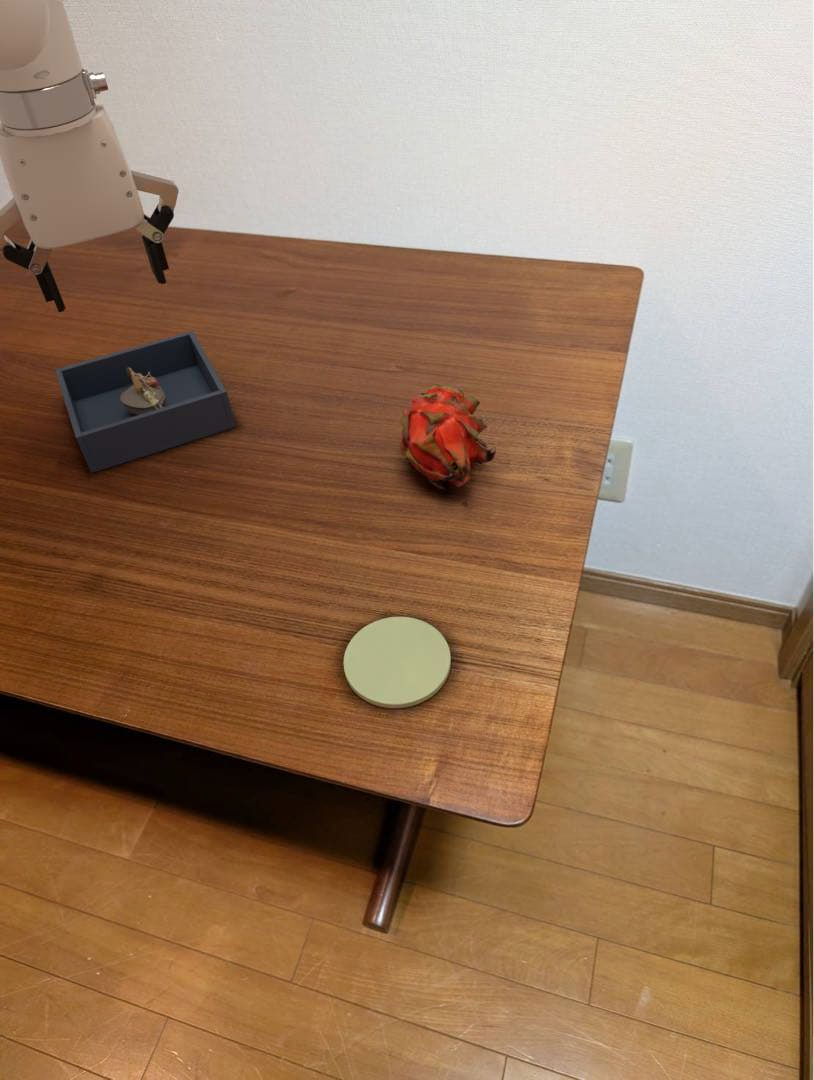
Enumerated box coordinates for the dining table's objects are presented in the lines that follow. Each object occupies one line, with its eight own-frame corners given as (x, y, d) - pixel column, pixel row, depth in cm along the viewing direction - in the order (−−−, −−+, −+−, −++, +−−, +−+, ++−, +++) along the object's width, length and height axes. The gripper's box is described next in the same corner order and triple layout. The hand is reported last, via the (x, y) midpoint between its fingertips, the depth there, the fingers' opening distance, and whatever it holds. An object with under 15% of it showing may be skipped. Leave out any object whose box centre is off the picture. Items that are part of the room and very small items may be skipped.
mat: (369, 725, 62) (369, 721, 61) (328, 644, 67) (327, 640, 67) (469, 681, 64) (469, 677, 63) (421, 606, 69) (421, 602, 69)
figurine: (117, 412, 90) (99, 365, 85) (150, 392, 92) (134, 345, 88) (147, 430, 87) (131, 382, 83) (180, 409, 89) (166, 362, 85)
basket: (91, 473, 84) (75, 437, 80) (69, 404, 92) (54, 369, 89) (235, 427, 88) (226, 391, 84) (202, 365, 96) (192, 330, 93)
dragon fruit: (438, 435, 87) (463, 524, 80) (370, 411, 83) (391, 504, 76) (488, 379, 82) (520, 470, 75) (419, 350, 77) (446, 444, 70)
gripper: (138, 66, 72) (187, 252, 85) (-71, 109, 68) (13, 298, 80) (159, 92, 67) (208, 284, 80) (-65, 139, 63) (24, 335, 75)
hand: (110, 291), depth 80 cm, fingers open, 9 cm apart
